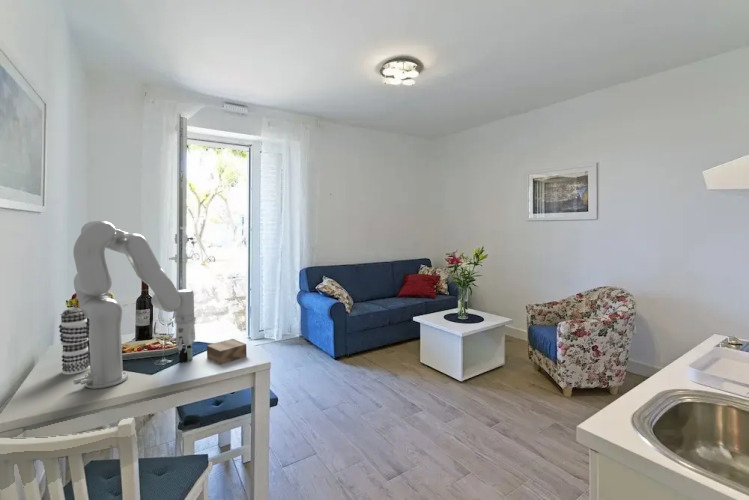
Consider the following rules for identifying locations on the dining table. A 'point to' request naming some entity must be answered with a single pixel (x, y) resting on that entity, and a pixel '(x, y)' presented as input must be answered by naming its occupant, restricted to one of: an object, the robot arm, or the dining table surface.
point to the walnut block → (226, 351)
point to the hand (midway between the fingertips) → (185, 358)
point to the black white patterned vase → (74, 341)
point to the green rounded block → (189, 354)
